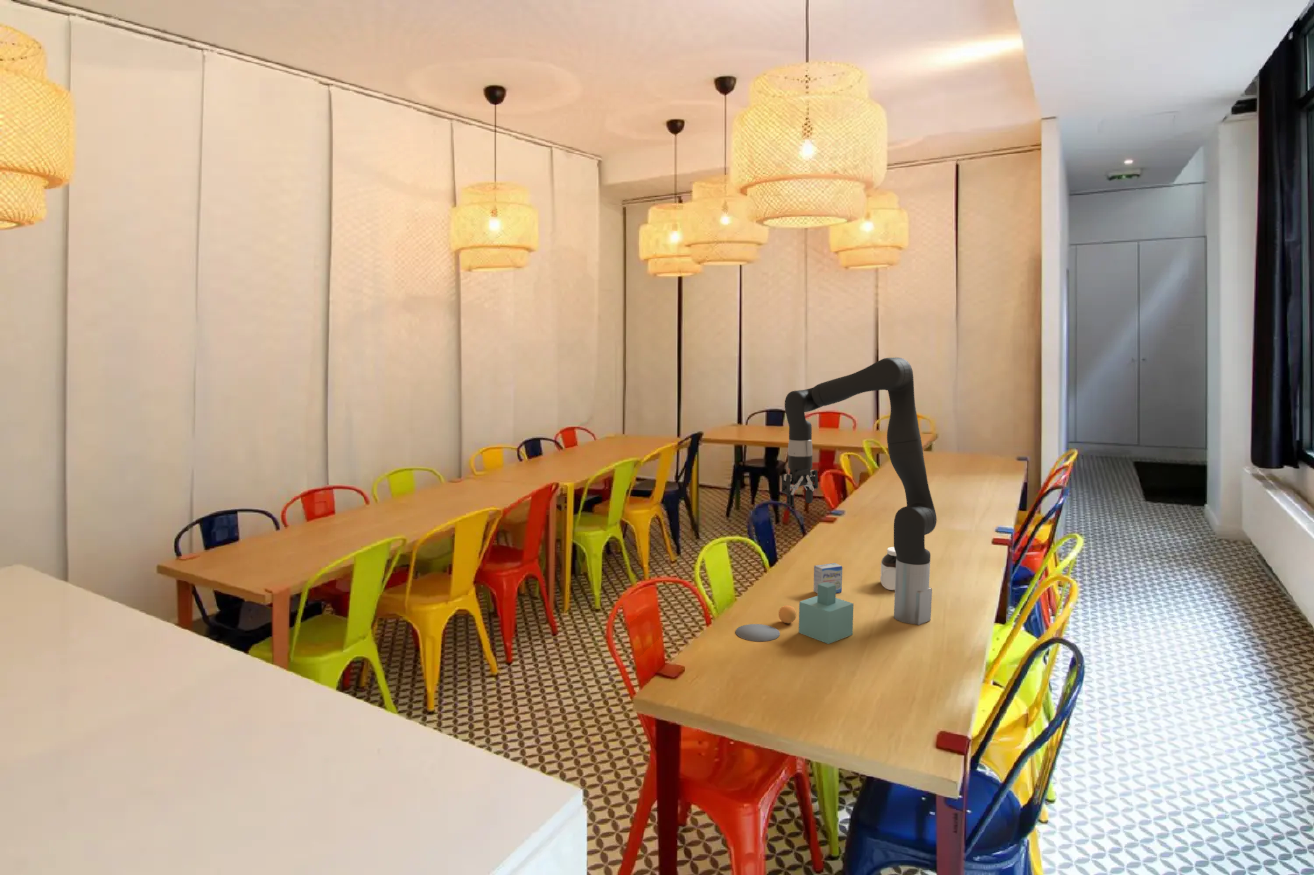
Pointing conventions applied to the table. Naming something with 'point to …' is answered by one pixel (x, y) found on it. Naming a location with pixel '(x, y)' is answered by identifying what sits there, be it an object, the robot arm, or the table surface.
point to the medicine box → (828, 576)
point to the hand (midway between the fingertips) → (799, 504)
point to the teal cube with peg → (826, 615)
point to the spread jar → (888, 569)
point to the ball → (787, 614)
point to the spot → (757, 632)
